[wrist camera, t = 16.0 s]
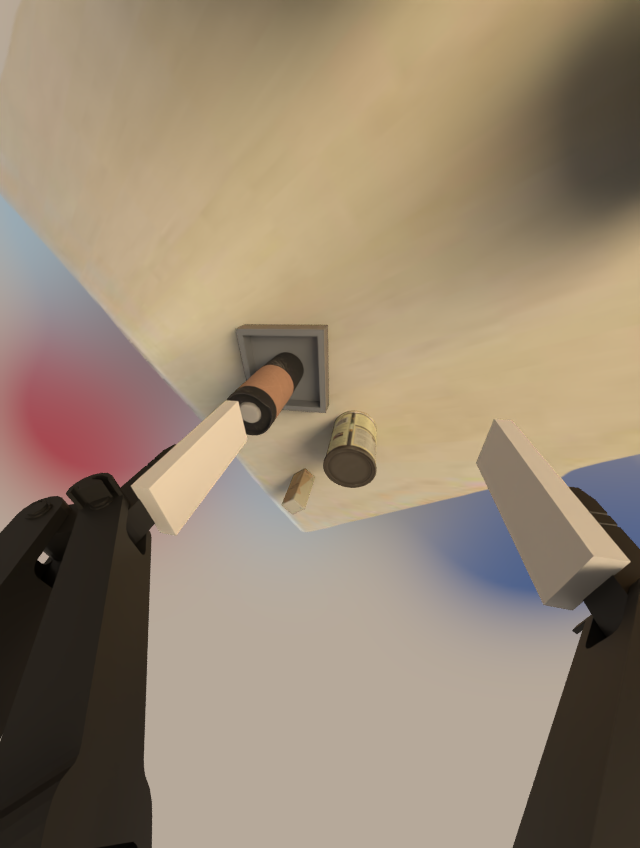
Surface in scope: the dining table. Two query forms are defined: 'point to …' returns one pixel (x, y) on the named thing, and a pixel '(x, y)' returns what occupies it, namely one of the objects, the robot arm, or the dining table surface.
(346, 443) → the coffee can
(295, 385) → the travel mug
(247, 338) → the bin
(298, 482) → the box
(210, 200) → the dining table surface
